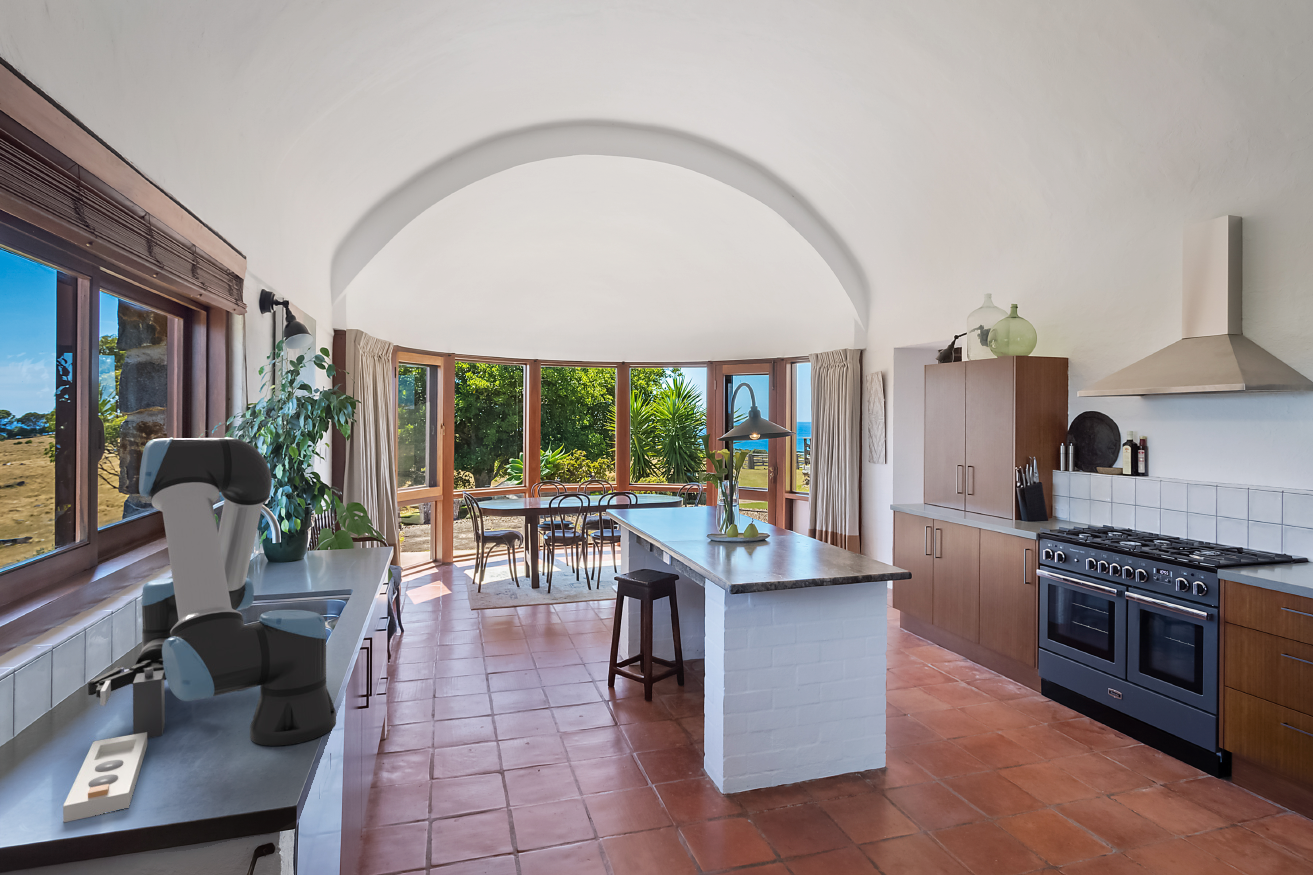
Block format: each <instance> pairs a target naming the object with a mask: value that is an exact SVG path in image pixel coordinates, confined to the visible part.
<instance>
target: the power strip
mask: <svg viewBox="0 0 1313 875" xmlns="http://www.w3.org/2000/svg"><path fill="white" fill-rule="evenodd" d="M147 747H148V738H147V732H145V733H139V734H130V735H129V734H128V735H123V736H117V737H112V738H105V739H100V740H94V741H93V742H92V744H91V746H90V748H89V751H88V753H87V755H86V757H85V759H84V761H83V763H82V765H81V768H80V769H79V772H78V774H77V776H76V777H75V780H74V783H73V784H72V786H71V789H70V791H69V793H68V795H67V797H66V800H65V801H64V803H63V805H62V808H63V809H62V815H63V817H62V818H63V820H62V822H63V823H67V822H73V821H77V820H81V819H86V818H91V817H96V816H100V814H101V815H104V814H103V813H105V812H110V811H115V810H118V809H124V808H129V809H130V806H131V803H130V802H132V799H133V796H132V795H134V792H135V789H136V786H135V785H137V782H138V778H139V776H140V771H141V768H142V764H143V761H144V758H145V754H146V751H147ZM129 805H130V806H129ZM124 810H125V809H124ZM115 812H116V811H115ZM110 813H111V812H110ZM105 814H106V813H105ZM95 815H96V816H95Z"/></svg>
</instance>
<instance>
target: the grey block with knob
mask: <svg viewBox="0 0 1313 875" xmlns="http://www.w3.org/2000/svg"><path fill="white" fill-rule="evenodd" d="M165 693H166V692H165V680H164V670H161V671H154V672H153V668H146V669H145V673H139V674H137V675H136V677H135V679H134V682H133V684H132V712H133V713H132V723H133V724H132V725H133V726H132V728H133V732H132V733H133V734H139V733H145V732H147V739H149V738H150V739H151V738H157V737H161V736H163V733H164V729H165V725H166V715H165V714H166V712H165V710H166V709H165V708H166V707H165V706H166V705H165V703H166V702H165V700H166V699H165ZM133 734H132V735H133Z"/></svg>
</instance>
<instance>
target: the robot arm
mask: <svg viewBox="0 0 1313 875" xmlns="http://www.w3.org/2000/svg"><path fill="white" fill-rule="evenodd" d="M138 477H139V481H138V491H139V495H140V496H141V497H145V498H150V499H151V505H152V507H153V508H154V509H155V510H157V511H160V512H162V517H163V518H162V519H163V523H164V524H163V526H164V531H165V536H166V543H167V544H166V545H167V550H168V556H169V557H168V558H169V565H170V571H171V577H172V578H171V577H170V578H159V579H153V580H150V581H147V582H146V583H145V584H143V586H142V597H141V603H140V604H141V611H142V612H141V613H142V614H141V617H142V618H141V619H142V631H141V636H142V637H141V642H142V643H141V644H142V646H141V651H140V652H139V655H138V657H137V660H136V662H135V665H133V666H131V667H130V668H126V669H125V667H124V666H122V665H118V666H116V667H115V668H113V669H112V670H110V671H108V672H105V673H104V674H101V675H100V676H98V677H95V678H94V679H91V680H90V681H88V682H87V693H88V694H87V695H88V696H93V695H95V697H96V698H99V700H100V704H99V705H100V707H103V706H106V705H107V703H108V700H109V699H110V697H111V694H112V692H114V691H116V690H118V689H122V688H123V687H124V688H125V687H126V686H129V685H133V682H134V679H135V677H136V675H137V674H139V673H145V669H146V668H153V672H154V671H161V670H164V681H167V684H168V687H169V689H170V691H171V692H172V694H173V695H174V696H175V697H176V698H177V699H178V700H180V701H182V702H191V701H197V700H203V699H205V700H207V699H211V698H213V697H216V696H221V695H224V694H225V695H226V694H229V693H233V692H238V690H239V691H243V690H246V689H250V688H251V689H252V688H255V687H260V689H259V690H260V692H259V693H260V694H259V699H258V703H257V705H256V707H255V711H254V714H253V717H252V720H251V722H250V726H249V730H250V731H249V732H250V733H249V736H250V737H249V738H250V740H251V741H252V742H253V743H255V744H257V745H263V746H270V747H271V746H274V747H275V746H277V747H279V746H288V745H295V744H299V743H305V742H307V741H312V740H314V739H317V738H320V737H322V736H324V735H326V734H327V733H329V732H330V731H332V730H333V729H334V728H335V727H336V725H337V712H336V709H335V706H334V703H333V700H332V697H331V695H330V693H329V689H328V686H327V639H328V635H327V628H326V620H325V618H324V616H323V615H322V614H320V613H319V612H315V611H309V610H302V609H277V610H276V609H275V610H270V611H265V612H263V613H261V614H260V616H259V618H258V622H256V623H255V622H254V623H251V624H250V623H249V624H245V622H244V616H243V614H242V613H241V612H240V611H241V610H245V609H248V608H250V607H251V606H252V605H253V603H254V599H255V597H254V596H255V595H254V594H255V588H254V584H253V581H252V580H251V578H248V572H249V567H250V563H251V558H252V555H253V551H254V550H253V549H254V545H255V540H256V536H257V531H258V527H259V522H260V518H261V512H262V508H263V504H264V503H266V502H267V501H268V500H269V498H270V494H271V491H272V485H273V484H272V483H273V482H272V480H273V479H272V472H271V470H270V467H269V465H268V462H267V461H266V459H265V457H264V456H263V455H262V454H261V453H260V451H259V450H258V449H257V448H255V446H253V445H252V444H250V443H248V442H246V441H244V440H242V439H238V438H234V437H203V438H201V437H200V438H199V437H198V438H192V437H191V438H174V437H169V438H154V439H151V440H149V441H147V443H146V444H145V445H144V447H143V452H142V457H141V462H140V468H139V476H138ZM220 494H221V497H222V498H223V499H224V500H223V505H222V506H223V507H222V511H221V518H220V521H219V529H218V527H217V526H218V525H217V521H216V515H215V510H214V503H215V502H216V501H217V500H218V499H219V497H220Z"/></svg>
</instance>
